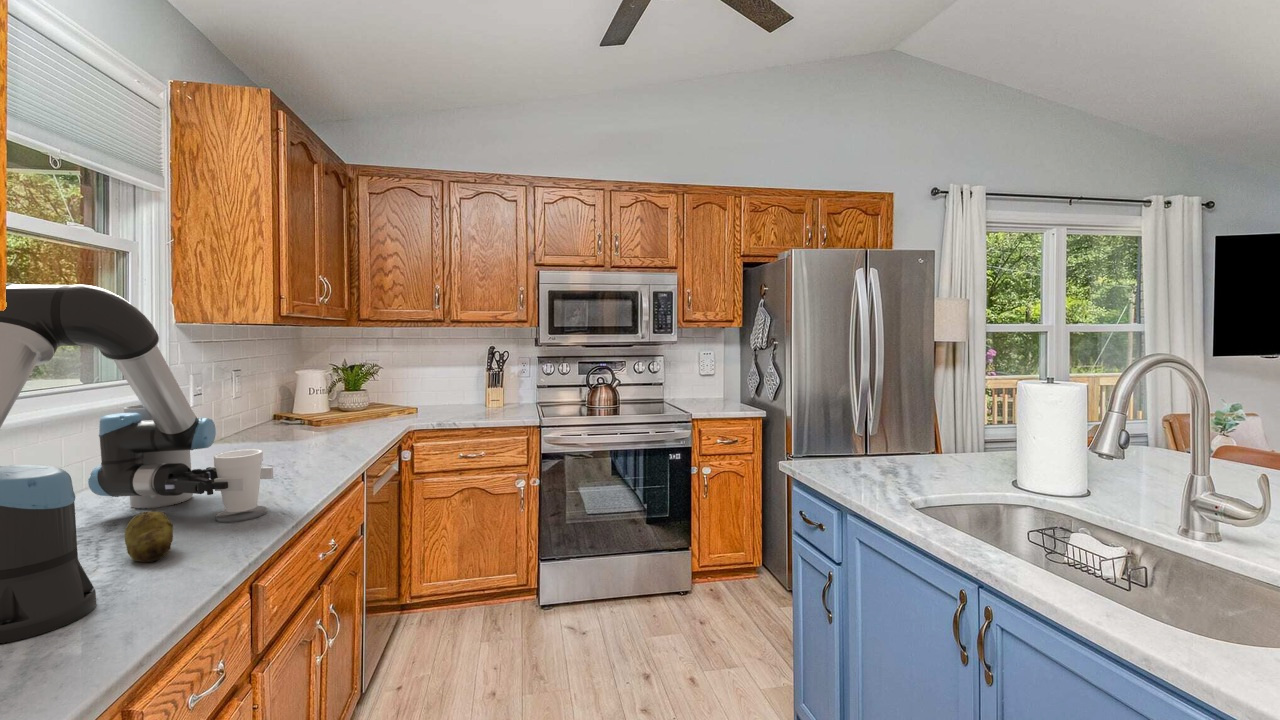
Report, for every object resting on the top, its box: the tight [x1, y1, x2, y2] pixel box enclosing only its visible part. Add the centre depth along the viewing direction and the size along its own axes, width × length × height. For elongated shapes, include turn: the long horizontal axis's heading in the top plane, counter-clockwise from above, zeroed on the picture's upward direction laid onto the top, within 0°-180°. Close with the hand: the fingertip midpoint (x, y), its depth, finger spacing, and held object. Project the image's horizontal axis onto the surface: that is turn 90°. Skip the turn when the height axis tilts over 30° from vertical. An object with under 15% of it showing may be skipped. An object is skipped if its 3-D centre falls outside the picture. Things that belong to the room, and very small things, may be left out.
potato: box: [124, 510, 174, 563], centre depth 115 cm, size 8×13×8 cm, turn 28°
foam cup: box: [213, 448, 264, 512], centre depth 140 cm, size 10×9×13 cm
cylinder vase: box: [123, 404, 194, 509], centre depth 151 cm, size 12×12×25 cm
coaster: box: [215, 505, 268, 523], centre depth 140 cm, size 10×10×1 cm
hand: (258, 478), depth 139 cm, fingers closed on foam cup, 9 cm apart
